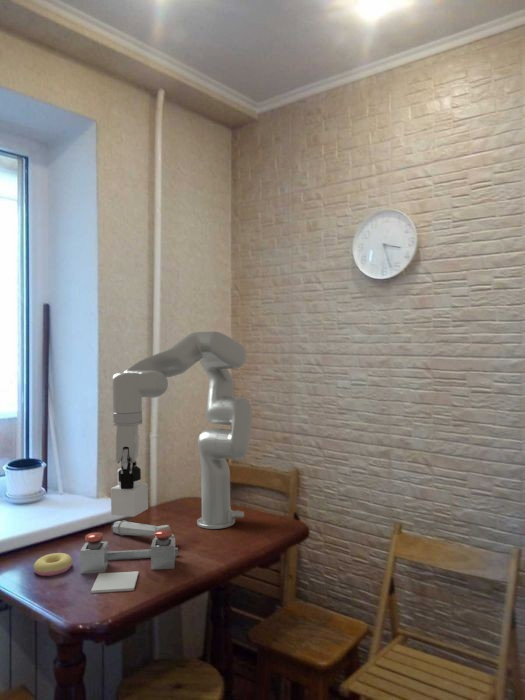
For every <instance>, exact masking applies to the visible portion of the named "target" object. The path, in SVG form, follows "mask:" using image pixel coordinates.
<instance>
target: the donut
mask: <svg viewBox="0 0 525 700" xmlns="http://www.w3.org/2000/svg"><path fill="white" fill-rule="evenodd" d="M72 565H73V559H72V557H71V556H70V555H69V554H68V553H63V552H56V553H55V552H54V553H49V554H45V555H43V556H41V557H39V558H38V559H37V560H36V561H35V562H34V564H33V570H34V573H36V574H37V575H38V576H42V577H54V576H58V575H60V574H64V573H65V572H67V571H68V570H69V569H70V568H71V567H72Z"/></svg>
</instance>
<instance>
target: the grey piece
mask: <svg viewBox="0 0 525 700" xmlns="http://www.w3.org/2000/svg"><path fill="white" fill-rule="evenodd" d="M110 528H111V529H110V530H111V532H112V533H113V534H116V535H120V536H136V537H137V536H138V537H140V536H141V537H153V539H157V538H155V536H154V532H155V531H157V530H160V529H169V530H171V527H170V525H169V524H165V525H163V524H162V525H159V526H157V525H152V524H145V523H138V522H131V521H127V520H126V519H125V520H117V521H113V522H112V524H111V527H110ZM171 531H172V530H171ZM169 538H175V535H174V533H172V536H171V537H169ZM175 539H176V538H175Z"/></svg>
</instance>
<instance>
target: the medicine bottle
mask: <svg viewBox="0 0 525 700" xmlns="http://www.w3.org/2000/svg"><path fill="white" fill-rule="evenodd" d="M136 466H137V465H136ZM136 466H132V473H133V479H134V487H133V488H132V489H121V467H120V468H118V469H117V485H115V486H113V487H111V488H110V512H111V515H113V516H122V517H124V516H125V517H136V516H138V515H139V514H141V513H143V512H145V511H146V510H148V509H149V494H148V493H149V492H148V491H149V488H148V487H149V486H148V483H147V482H142V477H141V475H142V474H141V473H142V472H141V471H142V470H141V467H139V466H137V467H136Z"/></svg>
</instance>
